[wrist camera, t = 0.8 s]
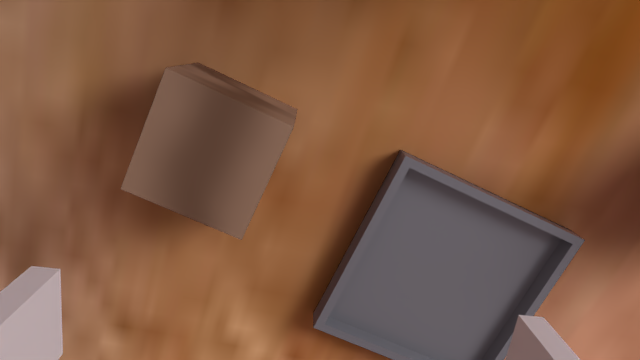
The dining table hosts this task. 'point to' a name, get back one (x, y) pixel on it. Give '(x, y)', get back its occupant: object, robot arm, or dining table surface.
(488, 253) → the slate tray
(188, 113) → the walnut cube
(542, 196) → the dining table surface
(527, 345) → the robot arm
